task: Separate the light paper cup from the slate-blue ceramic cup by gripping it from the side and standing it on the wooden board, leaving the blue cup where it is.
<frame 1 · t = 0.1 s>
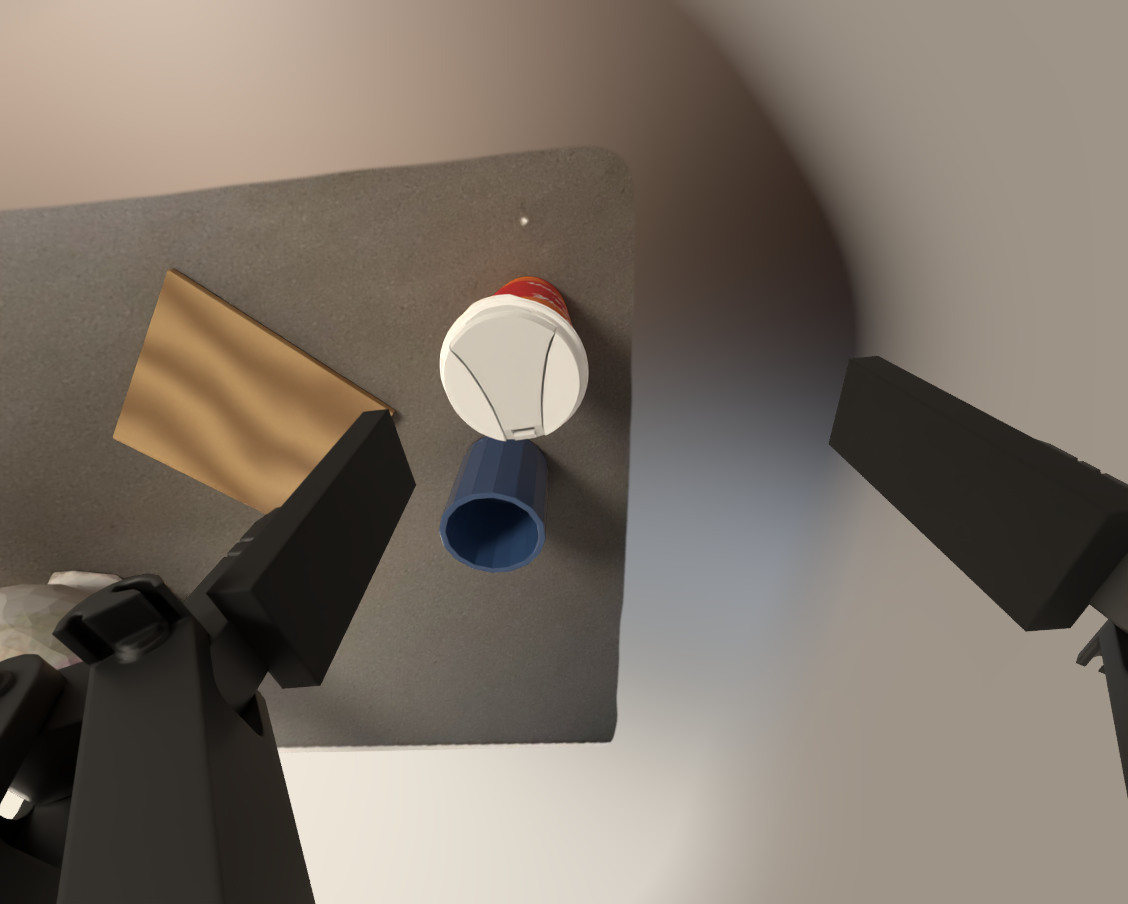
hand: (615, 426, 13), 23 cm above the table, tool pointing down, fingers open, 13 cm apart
ceramic pitcher: (97, 599, 50), on the table
blue cup: (505, 470, 41), on the table
paper cup: (530, 312, 33), on the table
wooden board: (254, 422, 38), on the table
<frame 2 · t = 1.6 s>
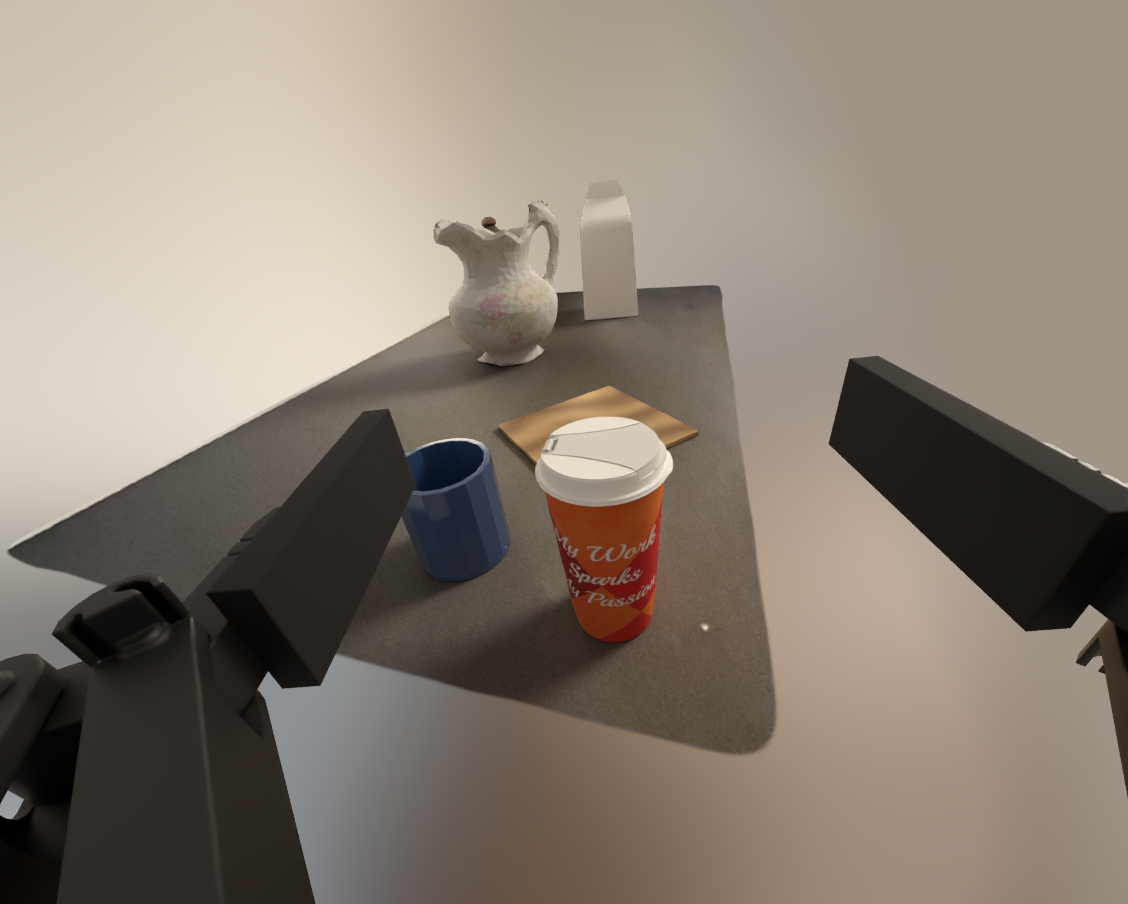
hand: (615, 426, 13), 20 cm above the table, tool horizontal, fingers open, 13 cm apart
ceramic pitcher: (518, 354, 83), on the table
blue cup: (466, 547, 39), on the table
paper cup: (614, 610, 32), on the table
milk: (611, 312, 101), on the table
wooden board: (591, 431, 54), on the table
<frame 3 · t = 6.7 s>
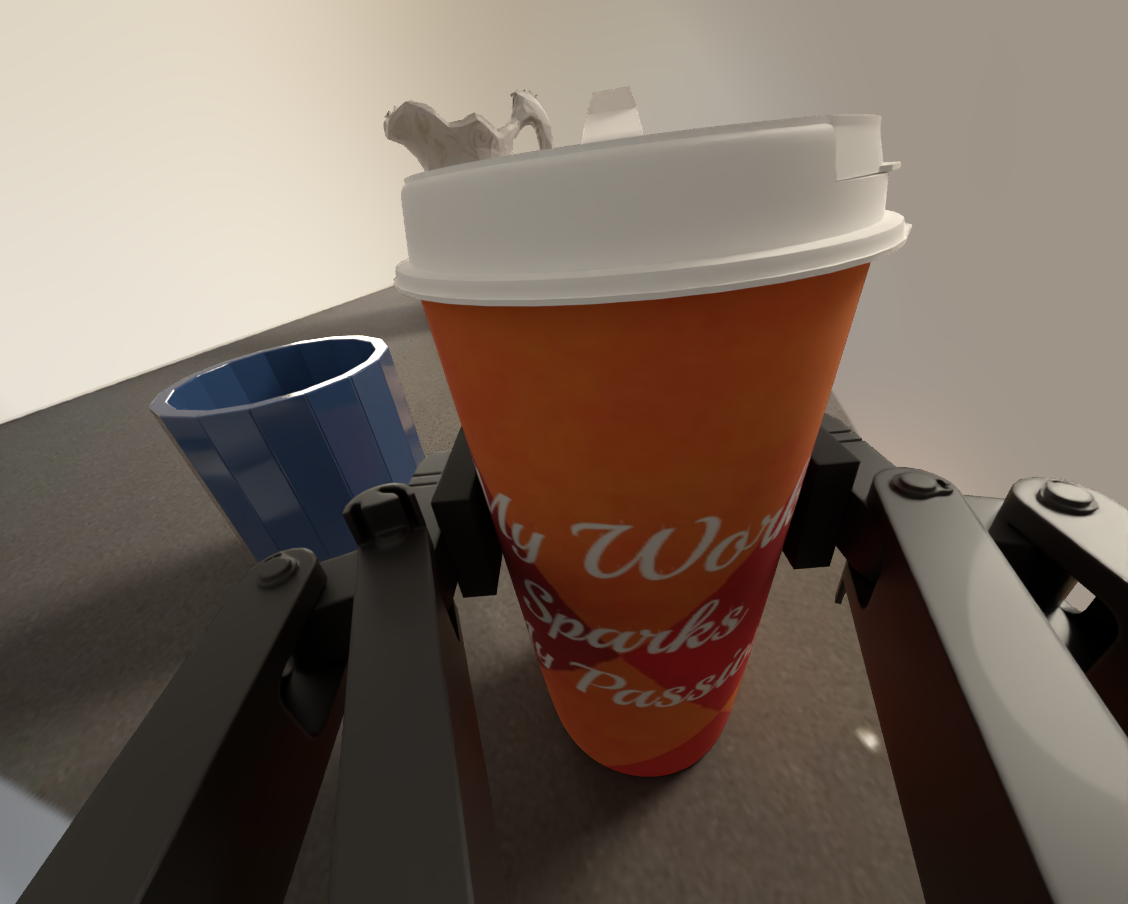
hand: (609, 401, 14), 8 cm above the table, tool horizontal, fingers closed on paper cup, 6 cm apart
ceramic pitcher: (501, 302, 66), on the table
blue cup: (362, 540, 21), on the table
paper cup: (639, 681, 14), on the table, touching gripper
milk: (618, 262, 84), on the table
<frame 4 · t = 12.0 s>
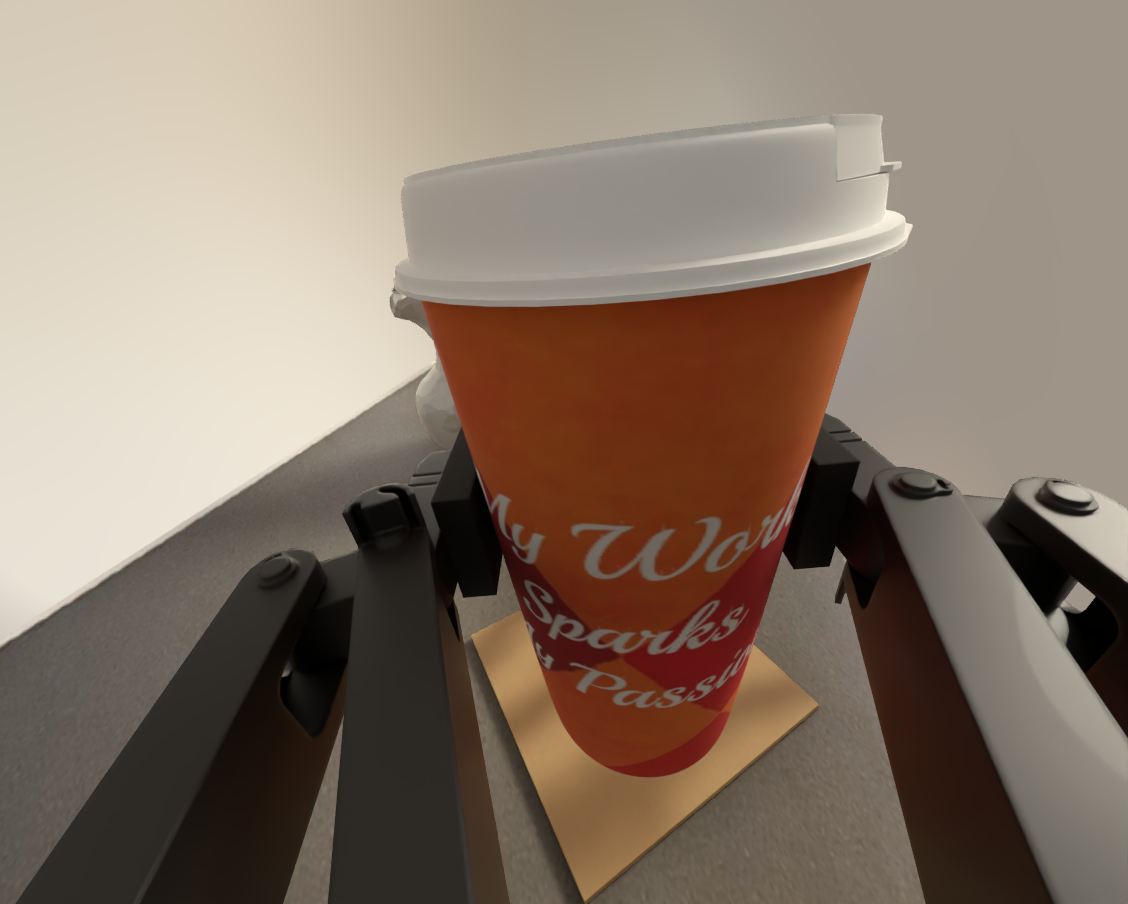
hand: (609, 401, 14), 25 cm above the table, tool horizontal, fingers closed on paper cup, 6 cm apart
ceramic pitcher: (513, 451, 61), on the table
paper cup: (640, 682, 14), point 17 cm above the table, touching gripper
wooden board: (625, 670, 32), on the table
when the fingers open (8 cm above the table, at t = 17.3 s): paper cup stays where it is, resting on wooden board.
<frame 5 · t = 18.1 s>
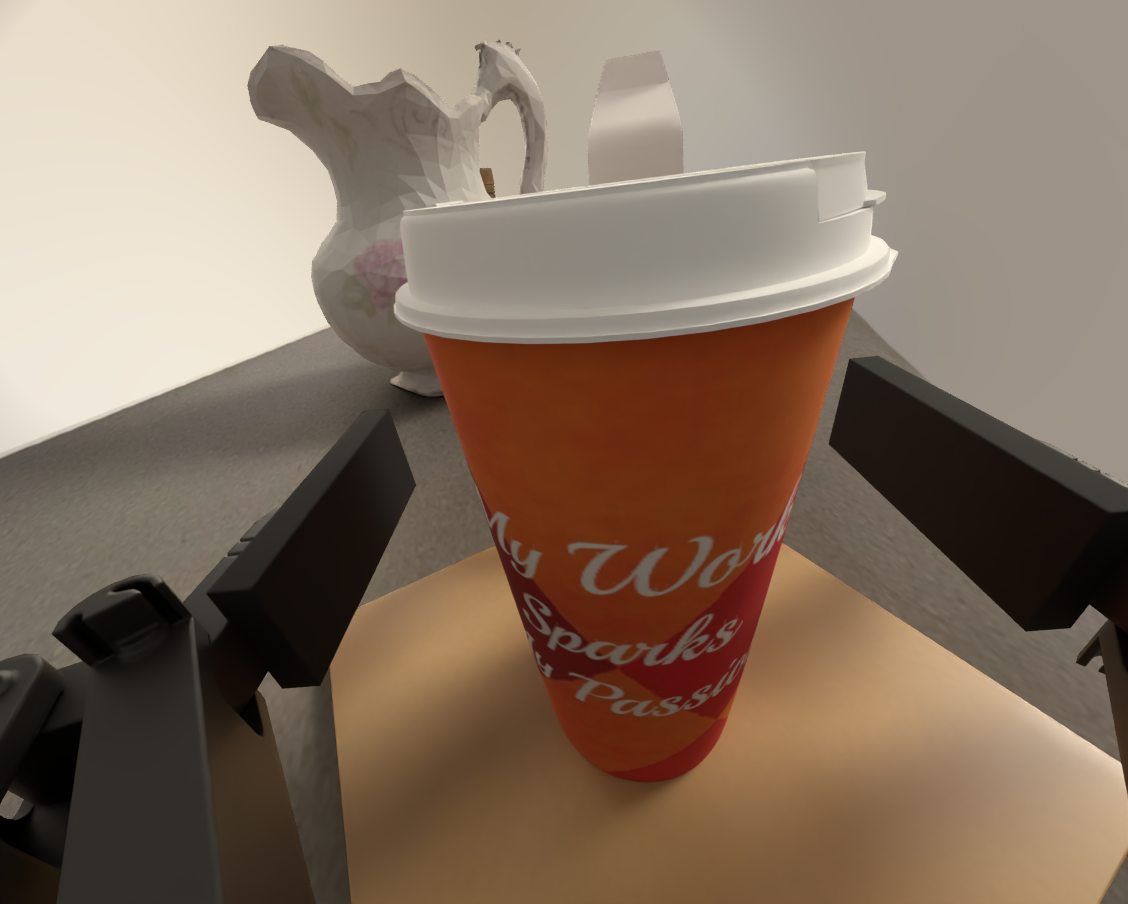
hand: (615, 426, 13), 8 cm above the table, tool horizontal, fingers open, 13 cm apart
ceramic pitcher: (469, 371, 44), on the table
paper cup: (639, 687, 14), resting on wooden board
milk: (637, 298, 62), on the table
wooden board: (638, 695, 14), on the table
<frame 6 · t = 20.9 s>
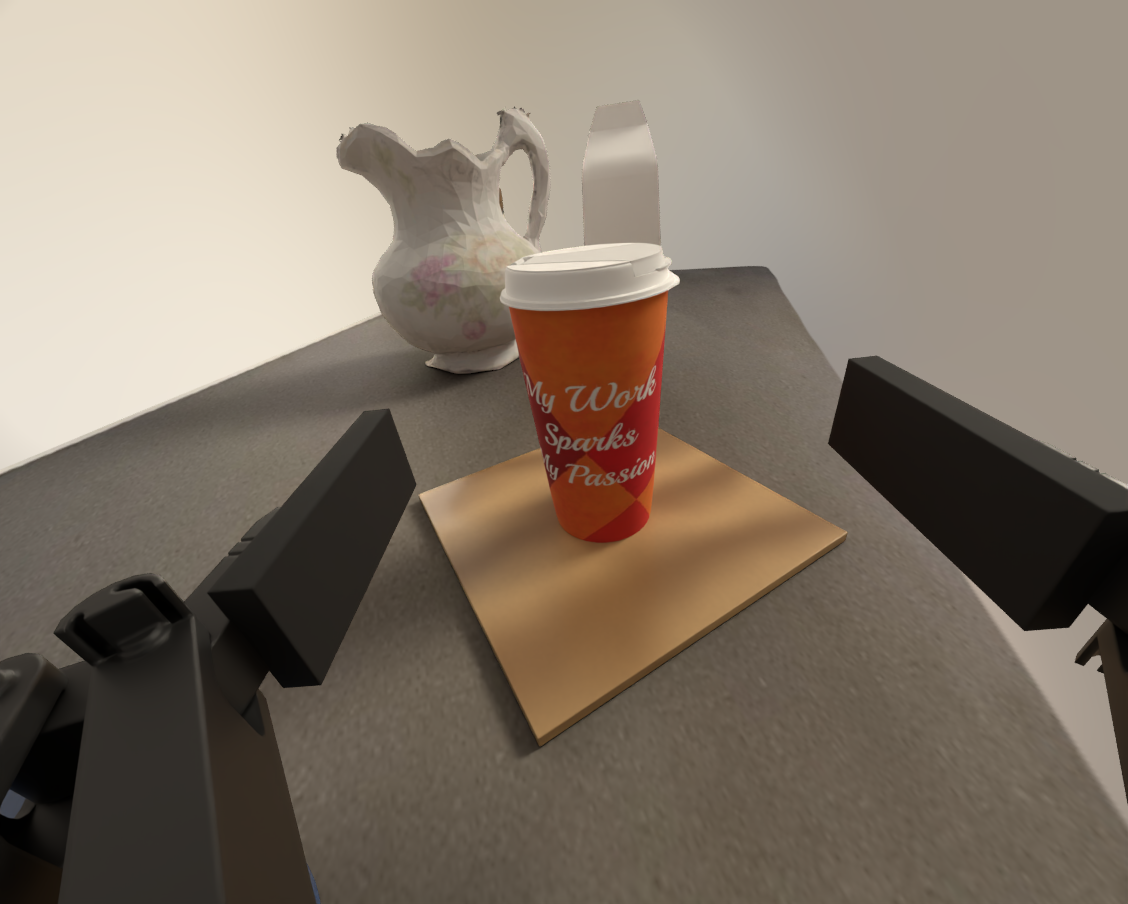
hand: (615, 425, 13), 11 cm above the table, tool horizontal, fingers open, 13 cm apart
ceramic pitcher: (487, 356, 55), on the table
paper cup: (604, 512, 26), resting on wooden board
milk: (624, 298, 74), on the table
wooden board: (604, 518, 26), on the table
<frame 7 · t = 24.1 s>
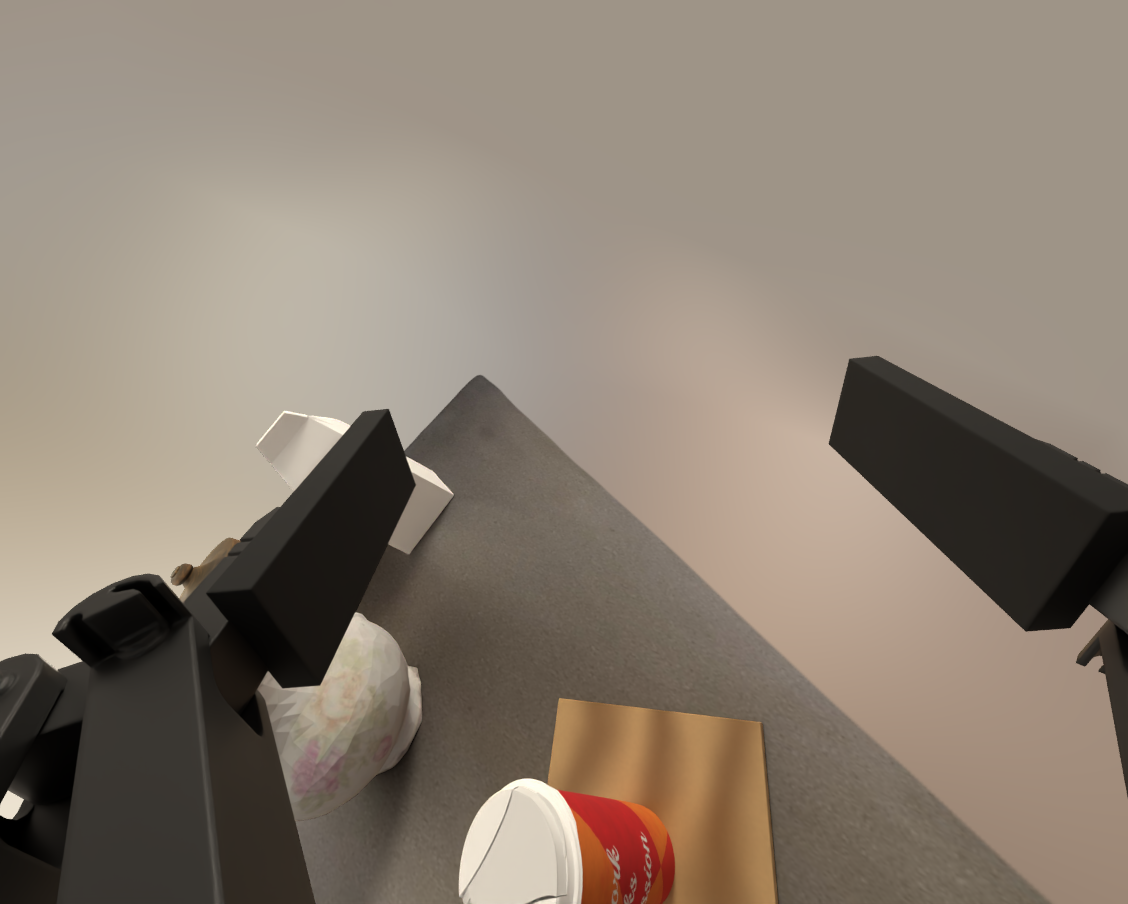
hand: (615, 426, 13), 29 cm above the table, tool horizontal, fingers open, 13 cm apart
ceramic pitcher: (395, 706, 54), on the table
wooden container: (310, 613, 80), on the table
paper cup: (640, 853, 31), resting on wooden board
milk: (422, 510, 75), on the table
wooden board: (643, 853, 31), on the table
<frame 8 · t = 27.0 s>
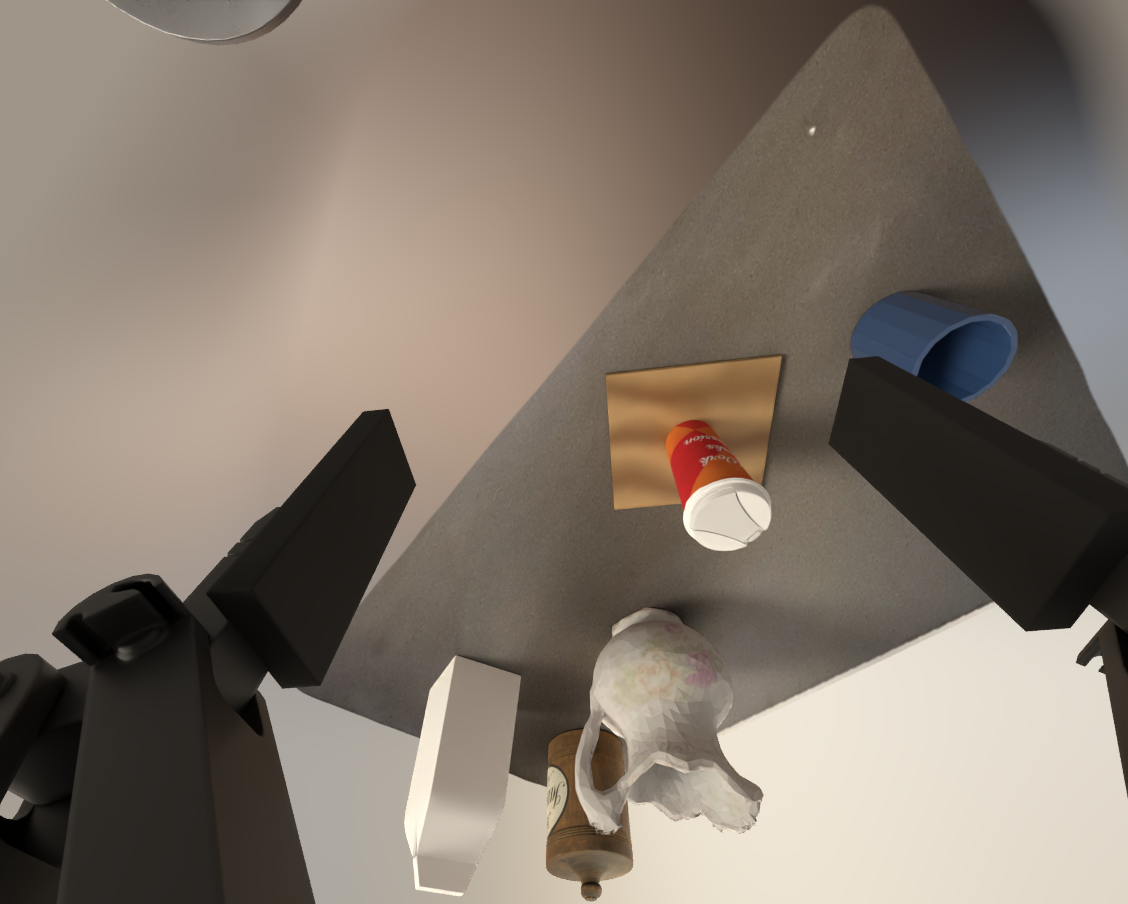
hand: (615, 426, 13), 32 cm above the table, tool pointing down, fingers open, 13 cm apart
ceramic pitcher: (641, 632, 68), on the table
blue cup: (892, 332, 43), on the table
wooden container: (584, 745, 87), on the table
paper cup: (688, 440, 49), resting on wooden board
milk: (475, 681, 75), on the table
wooden board: (688, 438, 50), on the table
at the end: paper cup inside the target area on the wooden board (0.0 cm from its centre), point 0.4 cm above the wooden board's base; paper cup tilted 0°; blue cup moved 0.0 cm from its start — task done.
